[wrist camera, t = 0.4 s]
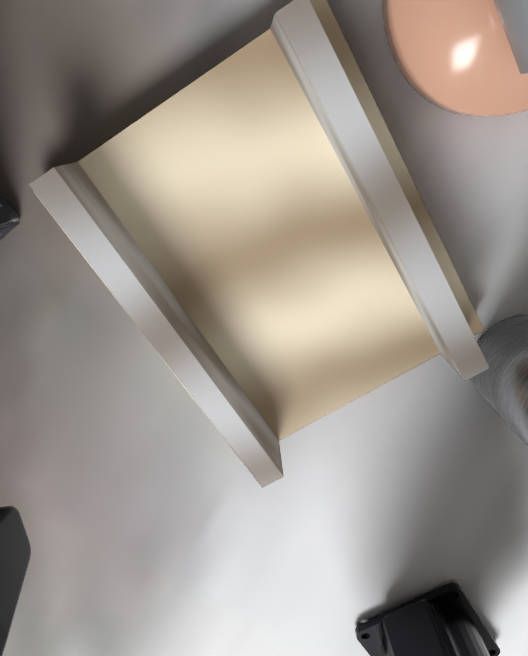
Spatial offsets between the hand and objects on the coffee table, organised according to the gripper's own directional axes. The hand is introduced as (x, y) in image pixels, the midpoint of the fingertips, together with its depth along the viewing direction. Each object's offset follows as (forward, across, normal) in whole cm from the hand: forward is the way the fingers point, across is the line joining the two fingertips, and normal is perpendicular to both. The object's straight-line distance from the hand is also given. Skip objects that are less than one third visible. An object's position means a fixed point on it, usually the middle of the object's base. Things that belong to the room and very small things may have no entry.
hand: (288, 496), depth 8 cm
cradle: (+14, -1, -1) cm, 14 cm away
